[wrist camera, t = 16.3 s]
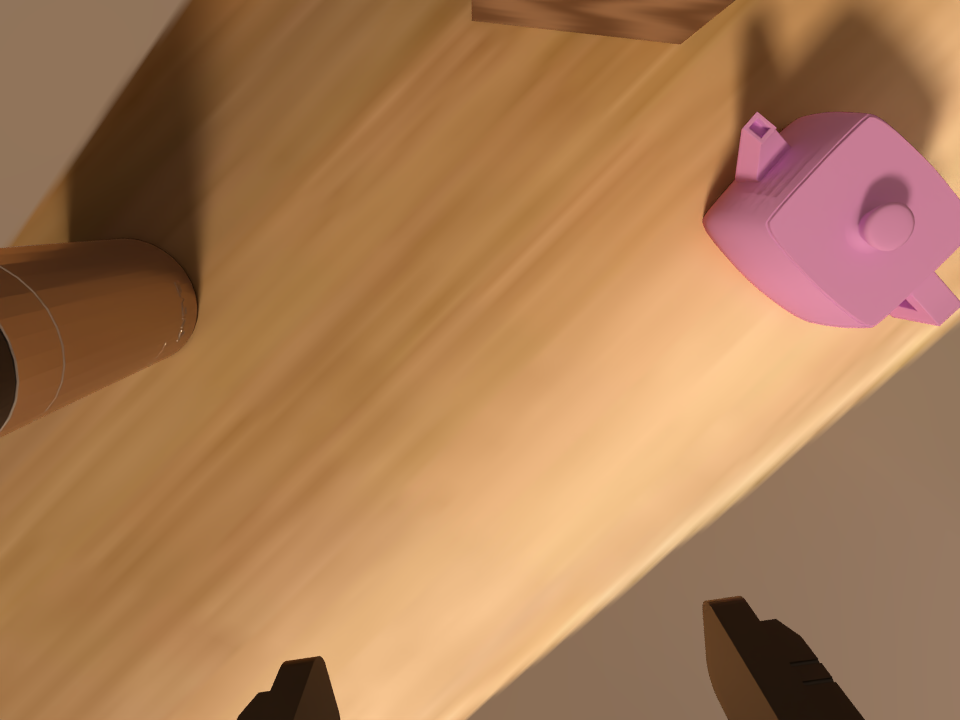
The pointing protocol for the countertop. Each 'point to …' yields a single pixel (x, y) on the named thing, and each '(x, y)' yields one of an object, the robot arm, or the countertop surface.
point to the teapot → (839, 221)
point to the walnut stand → (605, 16)
